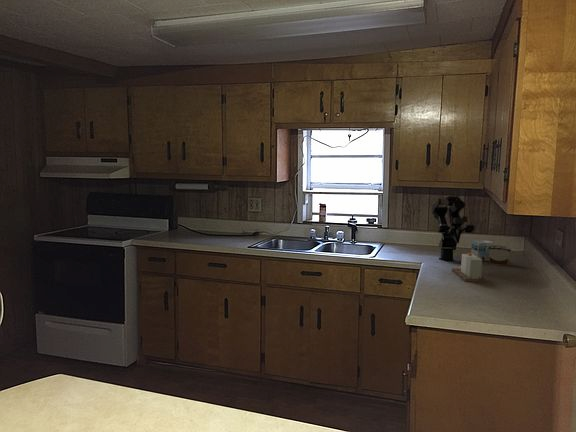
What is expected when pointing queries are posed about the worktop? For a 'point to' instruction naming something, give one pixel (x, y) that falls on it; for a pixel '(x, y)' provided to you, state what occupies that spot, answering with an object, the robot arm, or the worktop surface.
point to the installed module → (473, 267)
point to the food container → (499, 255)
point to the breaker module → (463, 262)
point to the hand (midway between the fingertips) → (457, 243)
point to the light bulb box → (481, 249)
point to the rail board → (466, 278)
